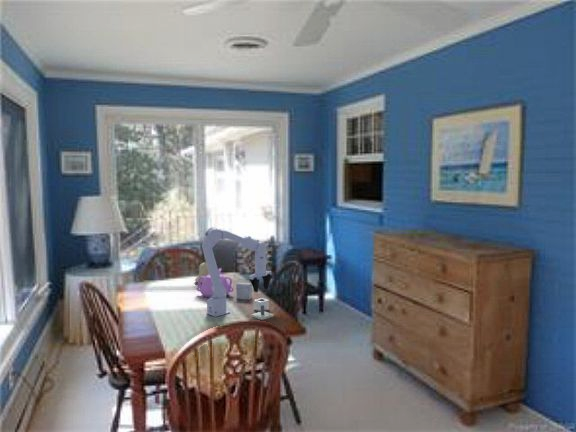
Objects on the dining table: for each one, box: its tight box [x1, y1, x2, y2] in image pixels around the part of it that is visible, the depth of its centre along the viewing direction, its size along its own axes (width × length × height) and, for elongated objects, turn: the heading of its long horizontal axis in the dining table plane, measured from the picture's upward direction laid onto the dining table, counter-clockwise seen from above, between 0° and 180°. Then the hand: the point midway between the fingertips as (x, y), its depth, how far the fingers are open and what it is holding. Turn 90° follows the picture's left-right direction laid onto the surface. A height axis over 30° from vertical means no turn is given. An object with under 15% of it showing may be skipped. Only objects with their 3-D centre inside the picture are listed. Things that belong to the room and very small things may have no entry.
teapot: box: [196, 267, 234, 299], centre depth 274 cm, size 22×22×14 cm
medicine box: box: [235, 282, 253, 301], centre depth 265 cm, size 8×4×9 cm, turn 74°
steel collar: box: [253, 297, 270, 312], centre depth 244 cm, size 6×6×5 cm
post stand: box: [250, 305, 275, 321], centre depth 233 cm, size 8×8×6 cm
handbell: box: [194, 255, 210, 284], centre depth 304 cm, size 15×15×25 cm
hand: (261, 290), depth 245 cm, fingers open, 7 cm apart
